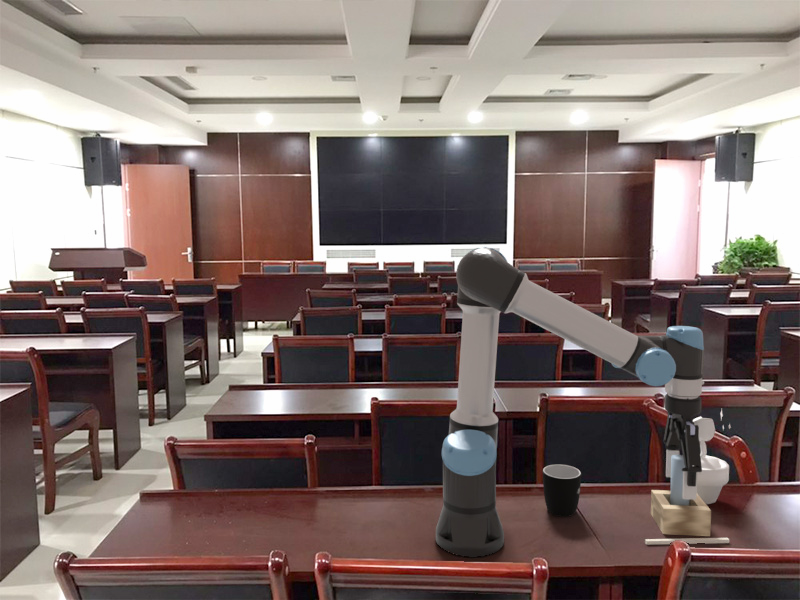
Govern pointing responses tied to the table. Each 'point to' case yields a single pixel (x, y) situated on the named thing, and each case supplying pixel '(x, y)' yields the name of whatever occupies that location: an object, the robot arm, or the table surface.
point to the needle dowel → (677, 481)
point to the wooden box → (680, 515)
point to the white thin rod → (687, 540)
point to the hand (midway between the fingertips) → (680, 487)
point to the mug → (561, 489)
